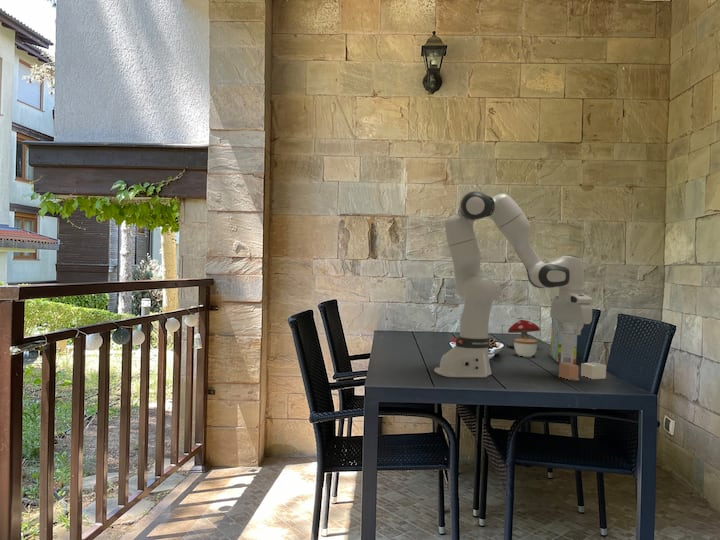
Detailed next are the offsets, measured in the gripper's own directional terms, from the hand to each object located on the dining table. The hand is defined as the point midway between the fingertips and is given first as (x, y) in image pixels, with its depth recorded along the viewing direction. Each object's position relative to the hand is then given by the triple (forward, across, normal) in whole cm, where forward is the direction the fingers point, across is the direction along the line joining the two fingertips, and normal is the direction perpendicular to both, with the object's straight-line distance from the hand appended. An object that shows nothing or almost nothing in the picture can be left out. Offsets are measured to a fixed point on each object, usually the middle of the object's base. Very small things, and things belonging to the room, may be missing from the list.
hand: (569, 333), depth 200 cm
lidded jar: (+18, -45, +12) cm, 50 cm away
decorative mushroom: (+17, -66, +24) cm, 73 cm away
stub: (+17, +1, 0) cm, 17 cm away
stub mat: (+17, +1, 0) cm, 17 cm away
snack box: (+17, -34, +24) cm, 45 cm away
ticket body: (+17, +1, +12) cm, 21 cm away
